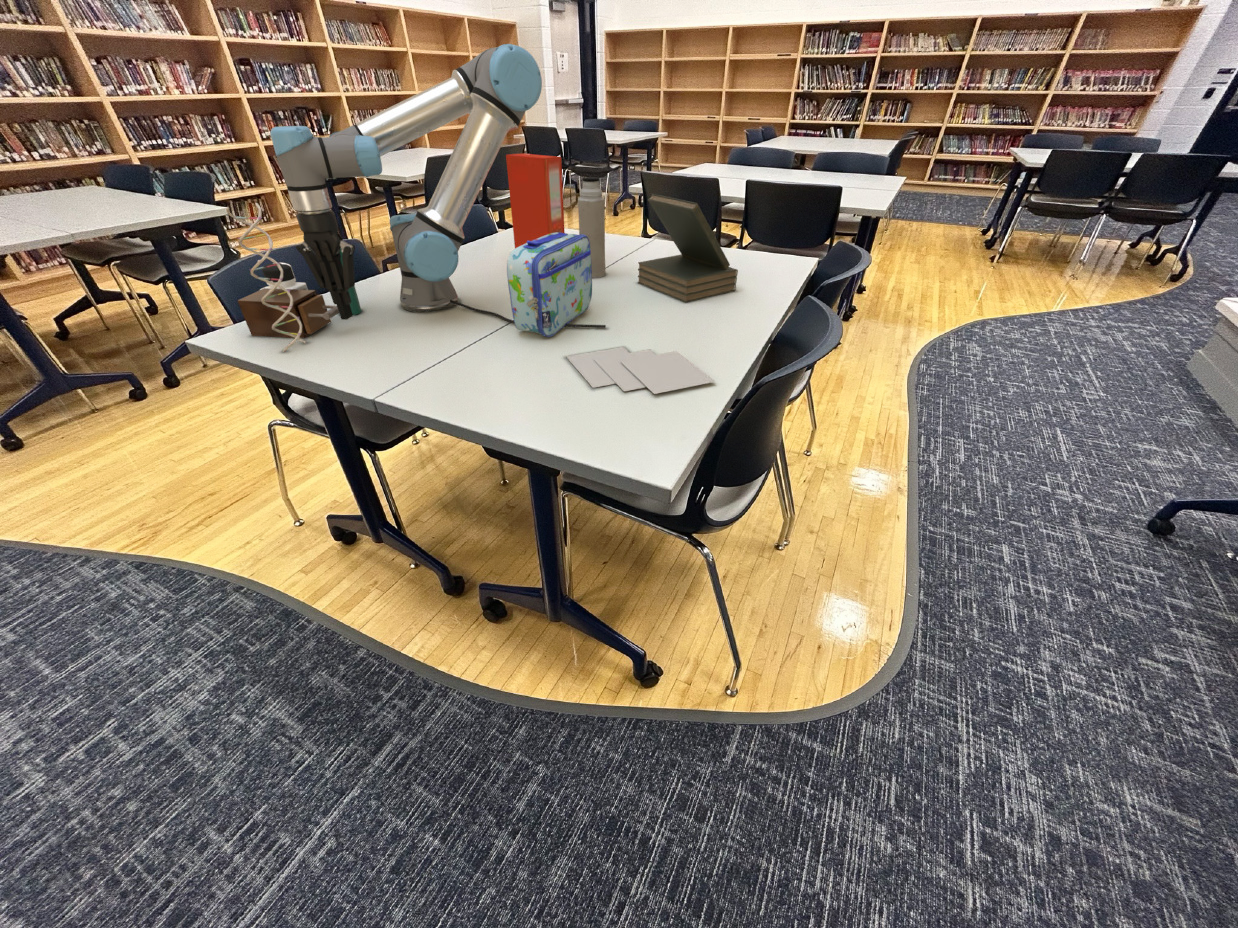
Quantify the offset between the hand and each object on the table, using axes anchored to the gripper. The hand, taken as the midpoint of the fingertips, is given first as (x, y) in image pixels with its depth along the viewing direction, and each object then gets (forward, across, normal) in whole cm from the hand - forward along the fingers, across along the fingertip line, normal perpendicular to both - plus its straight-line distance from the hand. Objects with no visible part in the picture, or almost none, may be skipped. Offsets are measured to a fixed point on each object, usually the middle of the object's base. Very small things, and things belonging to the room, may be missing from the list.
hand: (347, 317), depth 128 cm
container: (+4, +22, -9) cm, 24 cm away
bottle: (+4, +8, -14) cm, 16 cm away
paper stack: (+4, -72, +13) cm, 73 cm away
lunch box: (+4, -48, -13) cm, 50 cm away
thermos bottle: (+5, -51, -58) cm, 77 cm away
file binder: (+5, -30, -74) cm, 79 cm away
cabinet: (+4, +16, 0) cm, 16 cm away
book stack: (+5, -81, -48) cm, 94 cm away
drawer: (+3, +11, 0) cm, 11 cm away
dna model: (+4, +8, +10) cm, 14 cm away
